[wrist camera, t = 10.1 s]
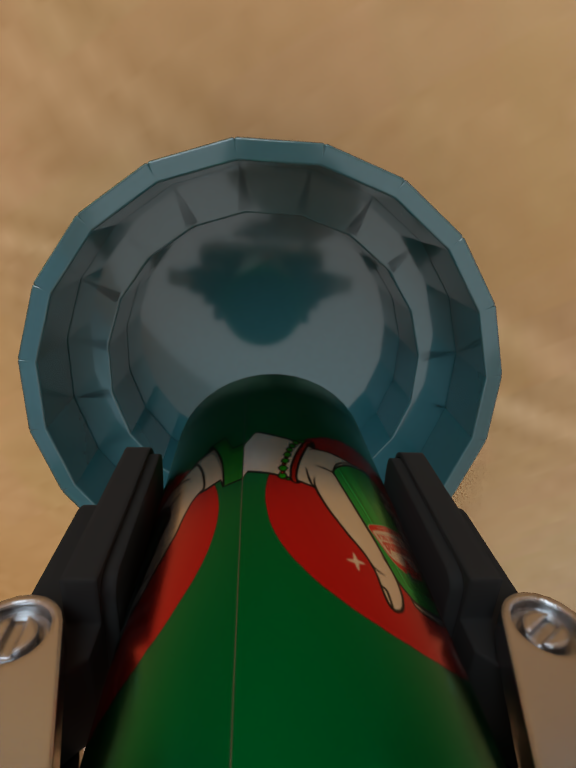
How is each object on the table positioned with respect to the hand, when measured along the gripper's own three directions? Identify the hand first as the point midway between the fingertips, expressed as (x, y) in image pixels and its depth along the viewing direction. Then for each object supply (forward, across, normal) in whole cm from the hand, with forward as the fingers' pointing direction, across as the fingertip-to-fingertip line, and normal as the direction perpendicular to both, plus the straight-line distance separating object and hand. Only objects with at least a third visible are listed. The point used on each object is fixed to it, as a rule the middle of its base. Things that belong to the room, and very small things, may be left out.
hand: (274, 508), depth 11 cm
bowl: (+12, 0, 0) cm, 12 cm away
